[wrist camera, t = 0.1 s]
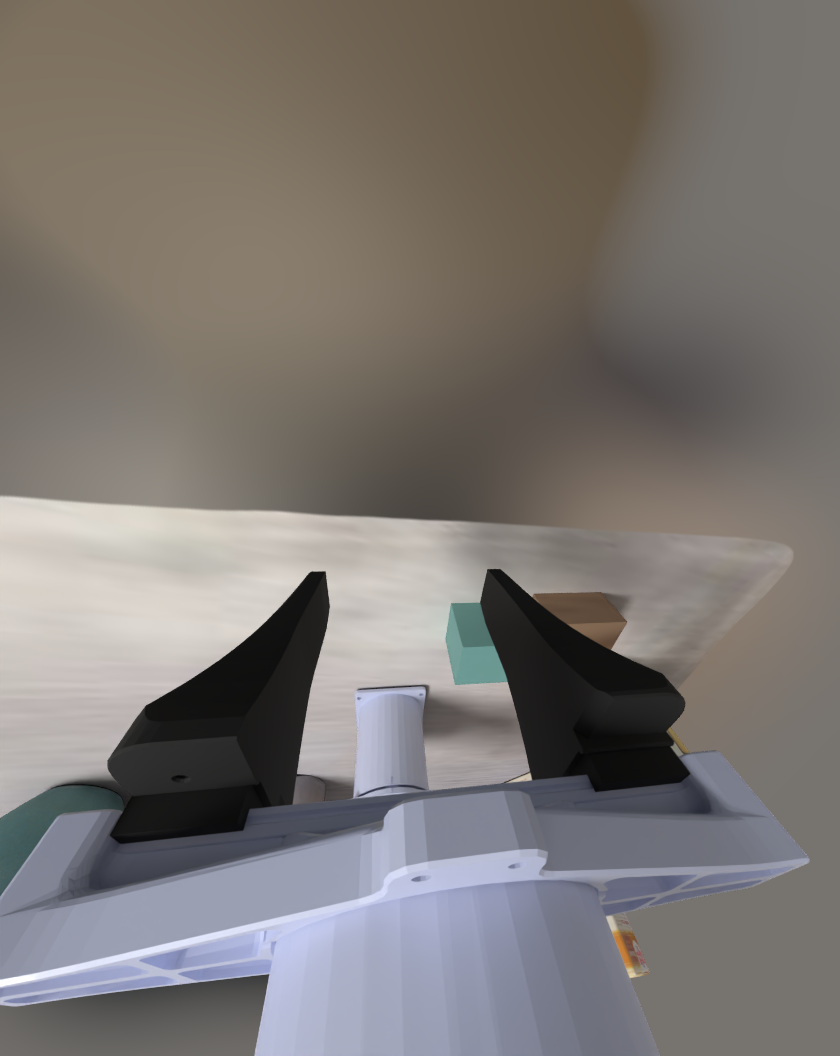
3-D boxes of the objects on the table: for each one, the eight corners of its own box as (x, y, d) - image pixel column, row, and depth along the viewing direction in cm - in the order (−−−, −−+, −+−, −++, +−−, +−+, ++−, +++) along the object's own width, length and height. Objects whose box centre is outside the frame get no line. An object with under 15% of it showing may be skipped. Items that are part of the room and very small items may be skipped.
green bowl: (193, 791, 41) (127, 940, 31) (118, 832, 46) (39, 976, 35) (39, 750, 33) (-122, 934, 23) (-34, 805, 37) (-199, 982, 27)
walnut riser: (576, 638, 33) (598, 671, 30) (516, 640, 32) (532, 674, 29) (599, 590, 30) (627, 621, 26) (532, 592, 29) (552, 624, 25)
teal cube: (492, 636, 31) (508, 681, 27) (445, 638, 31) (455, 684, 26) (501, 601, 29) (522, 644, 24) (451, 602, 28) (462, 647, 24)
